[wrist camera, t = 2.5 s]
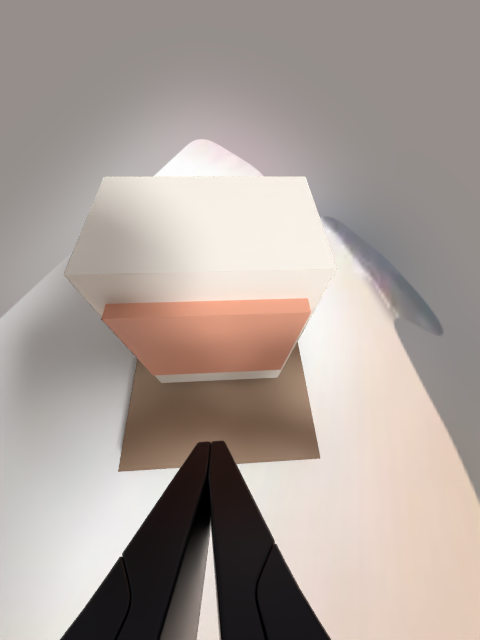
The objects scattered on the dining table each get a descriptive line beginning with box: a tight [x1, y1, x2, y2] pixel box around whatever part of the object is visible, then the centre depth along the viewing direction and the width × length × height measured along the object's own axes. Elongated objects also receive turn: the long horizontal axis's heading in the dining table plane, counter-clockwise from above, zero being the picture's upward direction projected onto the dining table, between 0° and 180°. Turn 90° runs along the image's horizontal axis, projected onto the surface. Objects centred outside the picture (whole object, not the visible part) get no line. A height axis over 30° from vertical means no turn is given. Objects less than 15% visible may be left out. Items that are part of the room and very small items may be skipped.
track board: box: [118, 342, 320, 472], centre depth 19 cm, size 16×12×2 cm
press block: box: [64, 177, 337, 383], centre depth 13 cm, size 6×8×11 cm
